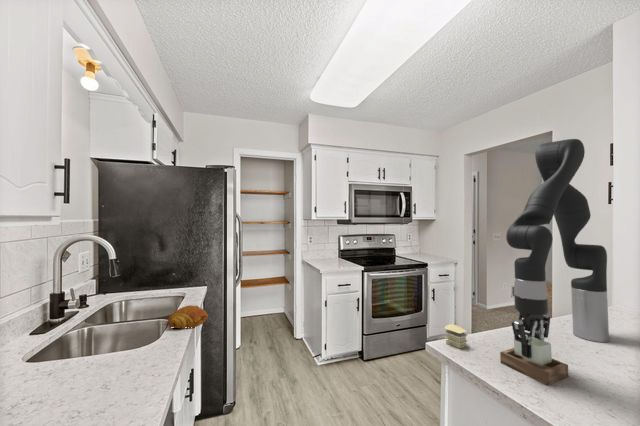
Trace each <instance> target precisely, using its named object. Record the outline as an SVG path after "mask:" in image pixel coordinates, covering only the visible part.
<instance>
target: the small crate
mask: <svg viewBox="0 0 640 426" xmlns="http://www.w3.org/2000/svg"><path fill="white" fill-rule="evenodd" d="M519 337H520V335H519ZM527 337H528V336H527V335H526V339H527ZM513 348H514V354H516V355H519V356H521V357H523V358H526V359H528V360H530V361H532V362H535V363H537V364H539V365H544V364H547V363H550V362H552V359H553V358H552V343H551V342H547V341H545V340H544V341H542V340H540V339H537V338H534V337H532V341H531V354H532V357H531V358H527V357H525V356H523V355H522V350H521V342H519V341H516V340H515V337H514V336H513Z"/></svg>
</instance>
